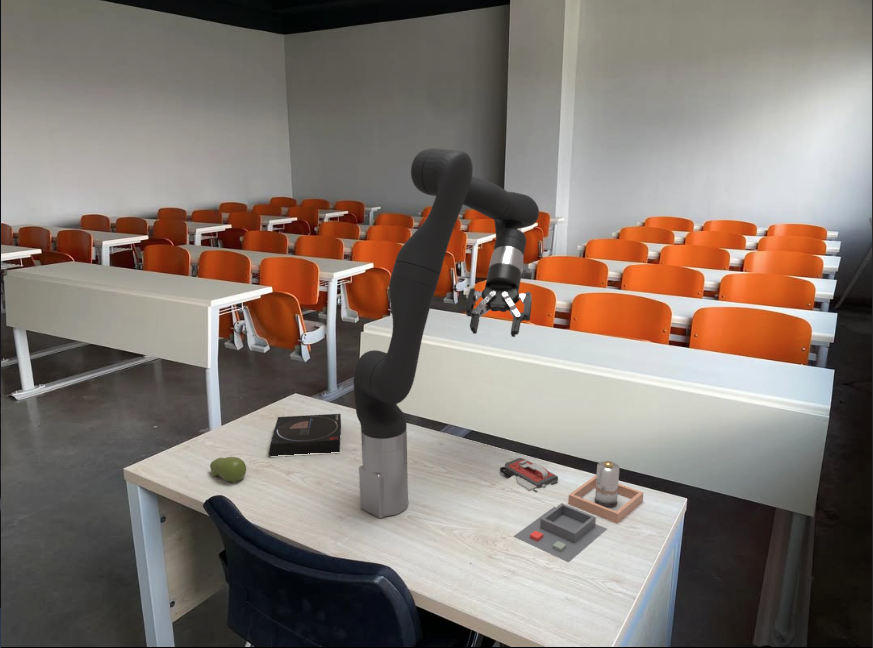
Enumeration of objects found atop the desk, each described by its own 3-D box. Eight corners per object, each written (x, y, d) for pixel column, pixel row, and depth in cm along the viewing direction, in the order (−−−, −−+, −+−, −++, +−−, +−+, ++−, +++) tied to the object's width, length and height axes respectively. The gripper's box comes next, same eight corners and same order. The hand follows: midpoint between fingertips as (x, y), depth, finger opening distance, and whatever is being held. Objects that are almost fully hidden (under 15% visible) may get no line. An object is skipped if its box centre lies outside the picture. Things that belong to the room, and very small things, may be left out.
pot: (616, 530, 129) (617, 514, 128) (567, 510, 137) (568, 494, 136) (642, 507, 137) (643, 492, 136) (594, 489, 144) (595, 475, 143)
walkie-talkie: (492, 477, 151) (556, 515, 135) (492, 459, 150) (557, 495, 134) (520, 466, 156) (585, 501, 140) (520, 449, 155) (586, 483, 139)
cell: (610, 514, 134) (613, 470, 131) (590, 506, 137) (592, 463, 134) (620, 505, 137) (624, 462, 134) (601, 498, 140) (604, 455, 137)
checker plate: (568, 569, 118) (569, 552, 117) (513, 543, 125) (513, 526, 125) (606, 535, 128) (607, 519, 127) (553, 513, 135) (554, 498, 134)
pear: (228, 464, 145) (201, 459, 151) (233, 487, 146) (206, 481, 152) (248, 455, 150) (222, 450, 156) (253, 477, 150) (226, 471, 157)
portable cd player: (276, 431, 177) (275, 417, 176) (341, 427, 178) (340, 413, 177) (268, 459, 161) (267, 444, 160) (339, 454, 163) (339, 439, 162)
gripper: (471, 260, 149) (458, 322, 141) (535, 263, 144) (524, 327, 137) (477, 278, 155) (464, 339, 147) (538, 282, 151) (528, 344, 143)
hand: (493, 333), depth 142 cm, fingers open, 8 cm apart
